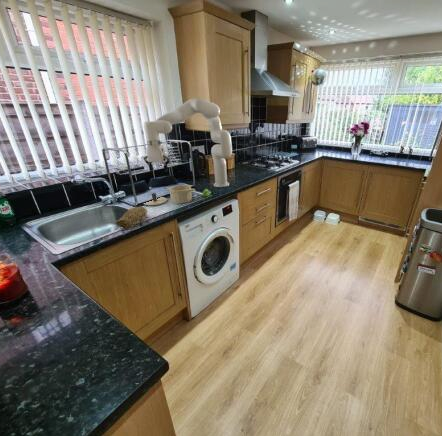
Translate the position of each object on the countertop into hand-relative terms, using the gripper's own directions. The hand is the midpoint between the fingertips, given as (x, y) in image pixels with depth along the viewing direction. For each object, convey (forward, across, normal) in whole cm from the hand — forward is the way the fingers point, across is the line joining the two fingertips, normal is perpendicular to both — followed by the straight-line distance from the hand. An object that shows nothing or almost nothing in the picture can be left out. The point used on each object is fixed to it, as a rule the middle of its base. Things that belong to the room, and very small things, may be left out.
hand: (159, 171), depth 155 cm
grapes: (+20, -25, -12) cm, 34 cm away
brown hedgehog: (+20, +1, +33) cm, 39 cm away
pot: (+20, -11, -3) cm, 23 cm away
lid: (+20, +5, +3) cm, 21 cm away
